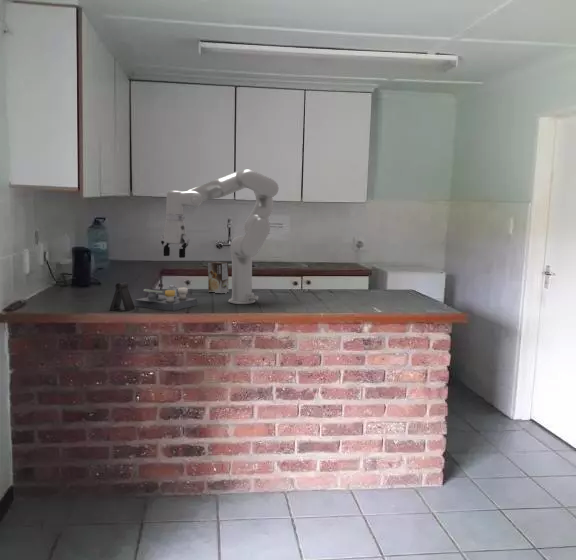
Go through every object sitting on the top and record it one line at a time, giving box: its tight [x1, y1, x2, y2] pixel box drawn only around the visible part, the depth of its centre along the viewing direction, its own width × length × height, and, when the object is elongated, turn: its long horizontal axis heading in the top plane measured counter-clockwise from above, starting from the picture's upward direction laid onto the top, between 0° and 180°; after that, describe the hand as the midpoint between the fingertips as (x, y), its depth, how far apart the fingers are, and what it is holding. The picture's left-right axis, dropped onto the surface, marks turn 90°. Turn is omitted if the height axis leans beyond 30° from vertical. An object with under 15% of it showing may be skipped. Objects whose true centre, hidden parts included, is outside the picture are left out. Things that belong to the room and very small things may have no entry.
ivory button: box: [177, 287, 189, 300], centre depth 271 cm, size 4×4×5 cm
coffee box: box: [207, 261, 229, 294], centre depth 309 cm, size 9×6×16 cm
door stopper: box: [109, 281, 136, 312], centre depth 259 cm, size 9×6×12 cm, turn 78°
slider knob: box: [166, 284, 178, 297], centre depth 275 cm, size 3×3×5 cm
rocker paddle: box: [143, 288, 164, 295], centre depth 273 cm, size 5×9×2 cm, turn 152°
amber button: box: [164, 289, 175, 303], centre depth 263 cm, size 4×4×5 cm
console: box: [134, 293, 198, 312], centre depth 270 cm, size 22×17×4 cm
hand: (174, 256), depth 266 cm, fingers open, 9 cm apart
